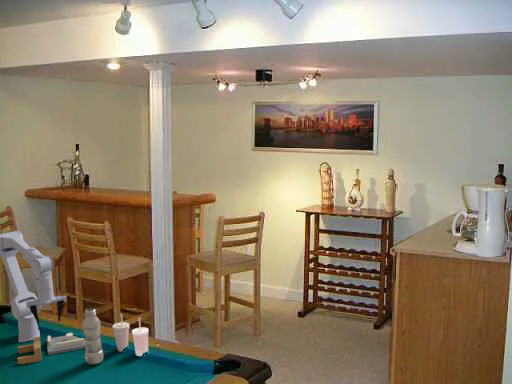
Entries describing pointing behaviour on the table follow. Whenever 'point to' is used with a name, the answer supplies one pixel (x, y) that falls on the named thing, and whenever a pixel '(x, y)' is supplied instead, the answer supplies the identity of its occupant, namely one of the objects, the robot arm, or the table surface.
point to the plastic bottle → (92, 337)
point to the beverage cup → (140, 339)
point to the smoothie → (121, 334)
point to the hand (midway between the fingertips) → (48, 322)
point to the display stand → (65, 344)
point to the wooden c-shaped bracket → (28, 348)
